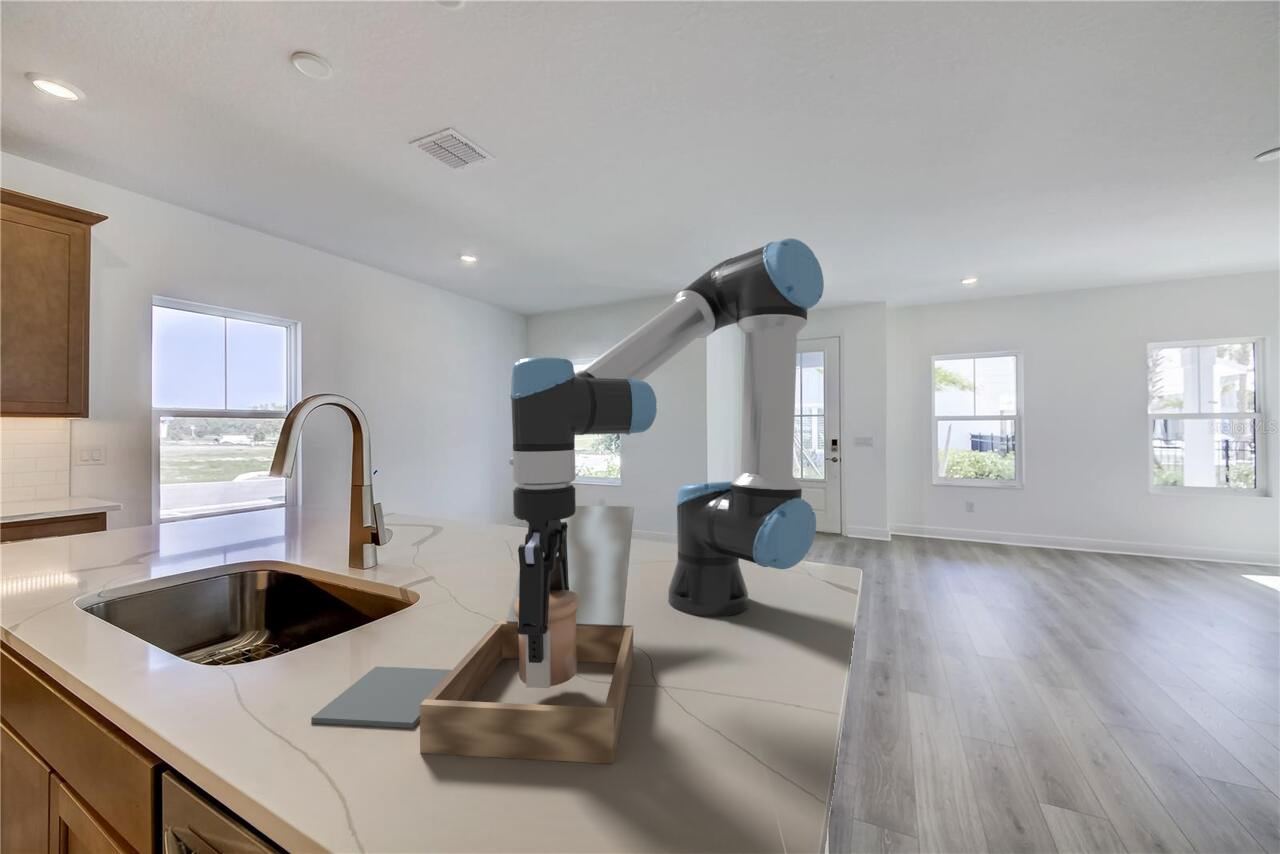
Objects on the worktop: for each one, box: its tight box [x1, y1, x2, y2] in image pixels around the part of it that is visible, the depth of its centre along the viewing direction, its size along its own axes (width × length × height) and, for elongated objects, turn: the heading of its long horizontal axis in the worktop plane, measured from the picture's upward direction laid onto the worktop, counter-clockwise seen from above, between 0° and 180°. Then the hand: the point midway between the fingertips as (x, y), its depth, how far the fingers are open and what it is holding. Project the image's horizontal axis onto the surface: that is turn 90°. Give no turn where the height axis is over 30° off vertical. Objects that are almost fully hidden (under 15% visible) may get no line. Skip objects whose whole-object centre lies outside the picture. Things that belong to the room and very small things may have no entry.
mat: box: [310, 666, 453, 729], centre depth 62 cm, size 12×12×1 cm
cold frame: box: [419, 505, 635, 765], centre depth 70 cm, size 20×39×20 cm, turn 175°
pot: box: [514, 590, 579, 687], centre depth 62 cm, size 8×8×9 cm
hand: (547, 669), depth 62 cm, fingers closed on pot, 7 cm apart
